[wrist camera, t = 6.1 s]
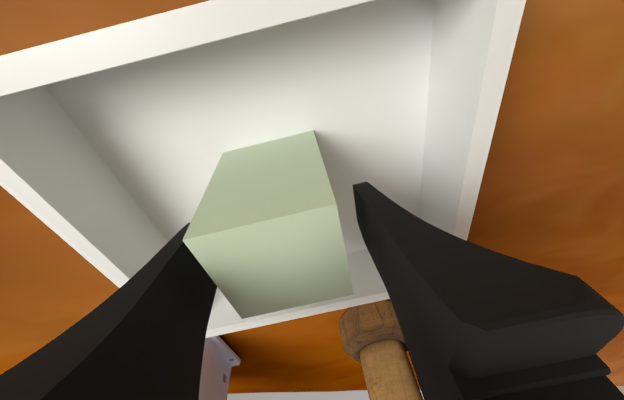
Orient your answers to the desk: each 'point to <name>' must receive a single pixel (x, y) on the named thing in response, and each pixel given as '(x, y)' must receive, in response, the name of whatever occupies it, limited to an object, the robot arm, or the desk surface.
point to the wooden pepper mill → (379, 351)
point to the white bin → (255, 119)
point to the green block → (271, 228)
